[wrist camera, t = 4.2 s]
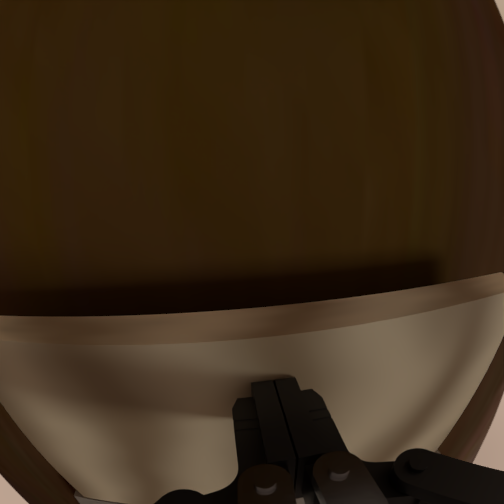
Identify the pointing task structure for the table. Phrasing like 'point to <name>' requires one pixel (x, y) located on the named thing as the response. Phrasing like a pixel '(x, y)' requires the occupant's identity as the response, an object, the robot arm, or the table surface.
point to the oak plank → (242, 381)
